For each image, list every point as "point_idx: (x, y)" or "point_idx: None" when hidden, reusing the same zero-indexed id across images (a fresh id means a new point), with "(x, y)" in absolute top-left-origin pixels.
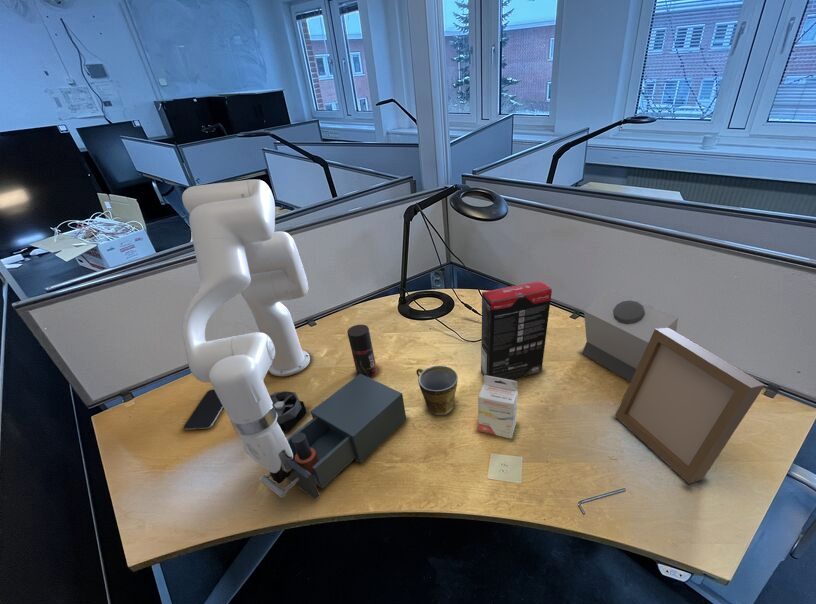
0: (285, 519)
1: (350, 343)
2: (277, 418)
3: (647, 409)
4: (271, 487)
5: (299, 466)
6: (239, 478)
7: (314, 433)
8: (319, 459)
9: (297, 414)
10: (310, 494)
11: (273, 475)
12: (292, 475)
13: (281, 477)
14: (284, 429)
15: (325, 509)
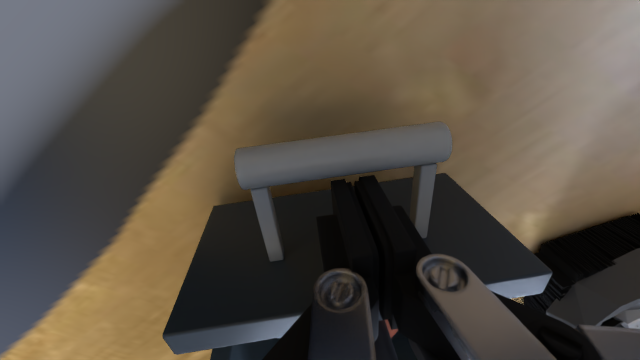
0: (229, 80)
1: None
2: (612, 301)
3: None
4: (330, 149)
5: (280, 336)
6: (576, 48)
7: None
8: None
9: (545, 310)
10: (234, 211)
11: (355, 226)
12: None
13: (318, 234)
14: (549, 259)
15: (167, 202)
